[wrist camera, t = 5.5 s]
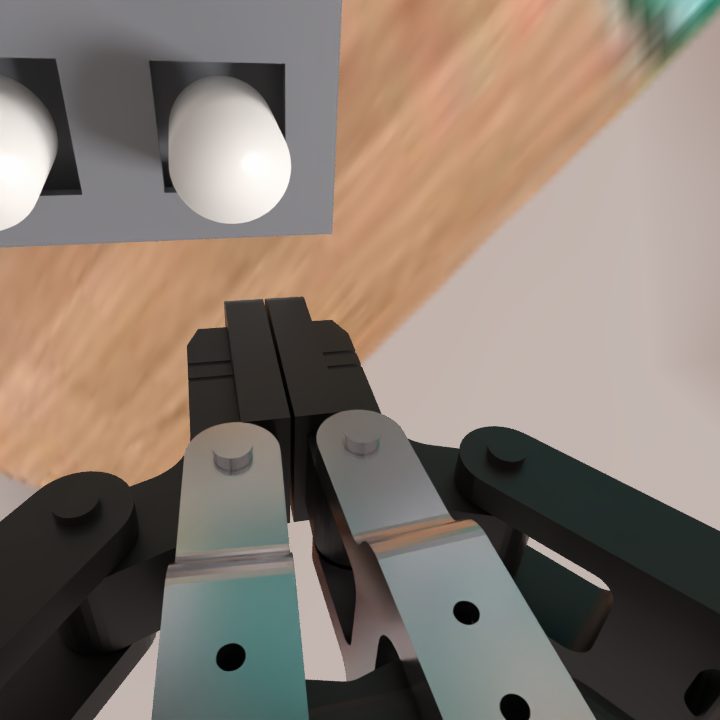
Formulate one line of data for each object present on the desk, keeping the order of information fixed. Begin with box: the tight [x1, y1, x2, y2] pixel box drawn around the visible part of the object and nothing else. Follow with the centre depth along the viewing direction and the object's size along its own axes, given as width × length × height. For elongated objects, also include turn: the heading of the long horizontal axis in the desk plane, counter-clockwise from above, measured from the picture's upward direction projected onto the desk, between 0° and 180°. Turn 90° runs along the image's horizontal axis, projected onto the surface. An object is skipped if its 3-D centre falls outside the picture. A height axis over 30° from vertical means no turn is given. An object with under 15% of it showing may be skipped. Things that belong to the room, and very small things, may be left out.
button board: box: [0, 0, 342, 247], centre depth 21 cm, size 16×16×3 cm
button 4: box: [169, 75, 291, 224], centre depth 21 cm, size 4×4×4 cm
